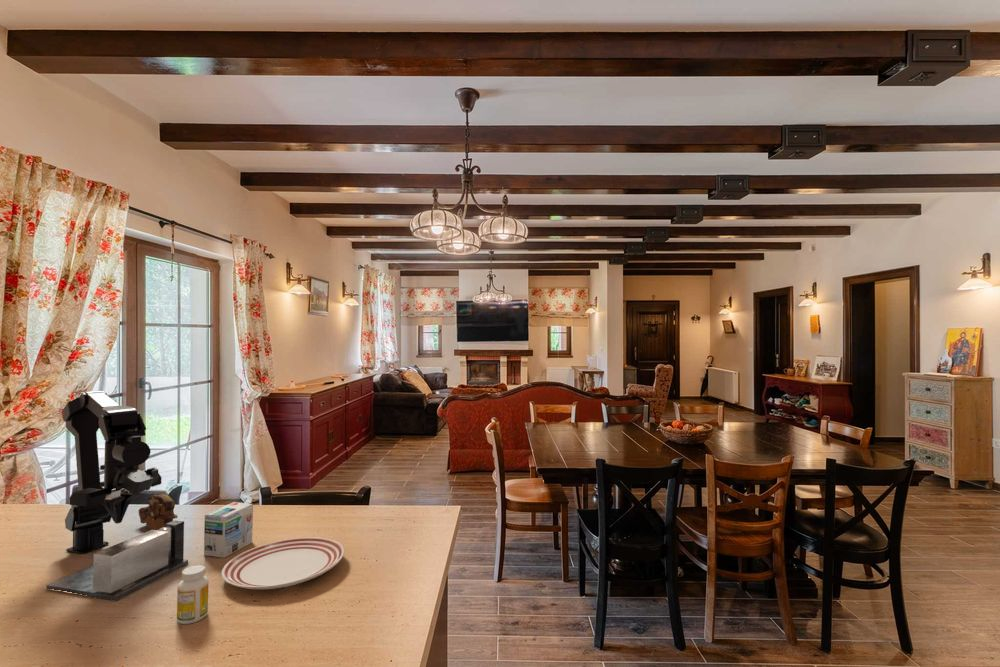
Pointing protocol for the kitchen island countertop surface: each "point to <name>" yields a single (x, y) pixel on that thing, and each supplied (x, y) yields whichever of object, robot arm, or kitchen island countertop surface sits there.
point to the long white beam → (131, 560)
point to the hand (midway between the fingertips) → (118, 523)
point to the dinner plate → (282, 563)
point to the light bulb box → (228, 529)
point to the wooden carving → (158, 512)
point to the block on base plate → (84, 582)
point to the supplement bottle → (192, 595)
